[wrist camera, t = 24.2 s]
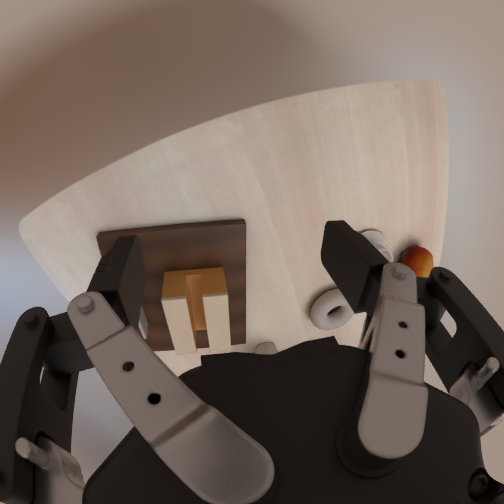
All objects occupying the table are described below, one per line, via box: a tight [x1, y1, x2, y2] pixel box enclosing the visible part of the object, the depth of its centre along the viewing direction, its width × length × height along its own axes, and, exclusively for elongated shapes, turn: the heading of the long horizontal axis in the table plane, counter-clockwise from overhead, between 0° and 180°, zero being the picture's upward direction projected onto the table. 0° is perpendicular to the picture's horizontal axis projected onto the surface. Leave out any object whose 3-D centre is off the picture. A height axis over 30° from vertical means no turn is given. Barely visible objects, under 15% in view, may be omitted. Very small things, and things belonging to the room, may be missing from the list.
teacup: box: [361, 231, 393, 262], centre depth 46 cm, size 10×10×5 cm
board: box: [96, 219, 246, 351], centre depth 44 cm, size 26×22×2 cm
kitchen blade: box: [113, 242, 148, 339], centre depth 39 cm, size 17×2×4 cm, turn 179°
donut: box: [310, 289, 354, 330], centre depth 52 cm, size 10×4×10 cm
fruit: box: [401, 246, 433, 277], centre depth 49 cm, size 8×8×8 cm
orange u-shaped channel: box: [161, 267, 231, 355], centre depth 42 cm, size 12×9×7 cm
